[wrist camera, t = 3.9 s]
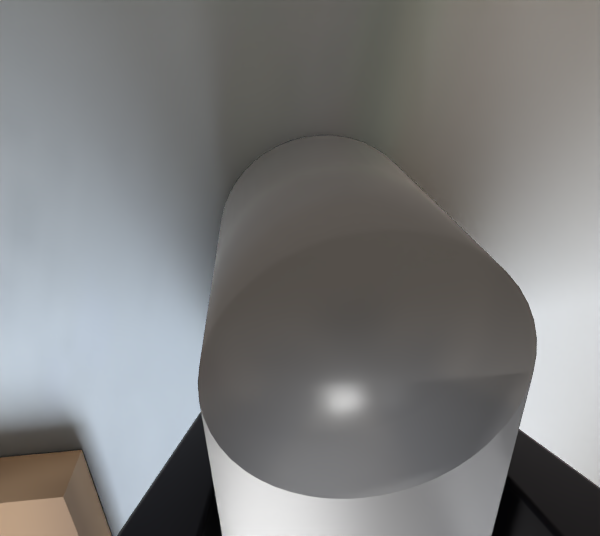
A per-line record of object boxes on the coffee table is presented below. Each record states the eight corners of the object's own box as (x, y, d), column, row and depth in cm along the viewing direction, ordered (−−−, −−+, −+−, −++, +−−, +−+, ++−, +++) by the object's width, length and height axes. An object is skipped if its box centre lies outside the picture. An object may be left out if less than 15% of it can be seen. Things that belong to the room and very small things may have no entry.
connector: (426, 130, 8) (572, 217, 4) (386, 562, 13) (435, 755, 10) (208, 140, 8) (171, 243, 4) (260, 576, 13) (263, 779, 10)
